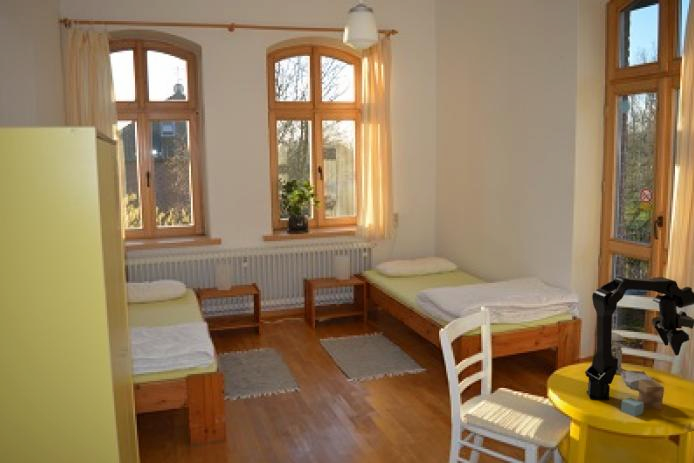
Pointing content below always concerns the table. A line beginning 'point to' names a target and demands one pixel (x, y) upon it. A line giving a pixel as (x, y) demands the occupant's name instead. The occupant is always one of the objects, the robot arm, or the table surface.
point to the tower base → (651, 402)
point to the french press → (617, 349)
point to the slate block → (632, 407)
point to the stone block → (634, 378)
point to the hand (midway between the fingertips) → (671, 350)
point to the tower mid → (650, 389)
